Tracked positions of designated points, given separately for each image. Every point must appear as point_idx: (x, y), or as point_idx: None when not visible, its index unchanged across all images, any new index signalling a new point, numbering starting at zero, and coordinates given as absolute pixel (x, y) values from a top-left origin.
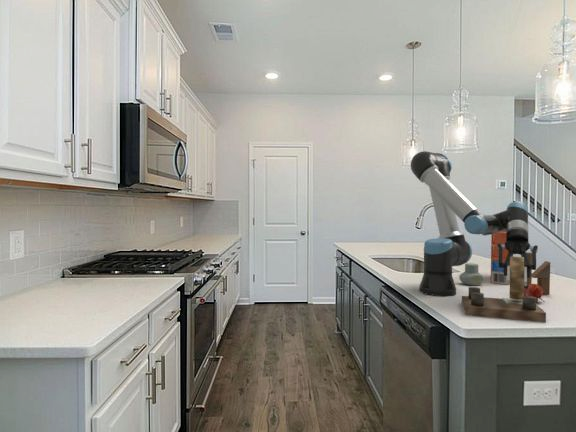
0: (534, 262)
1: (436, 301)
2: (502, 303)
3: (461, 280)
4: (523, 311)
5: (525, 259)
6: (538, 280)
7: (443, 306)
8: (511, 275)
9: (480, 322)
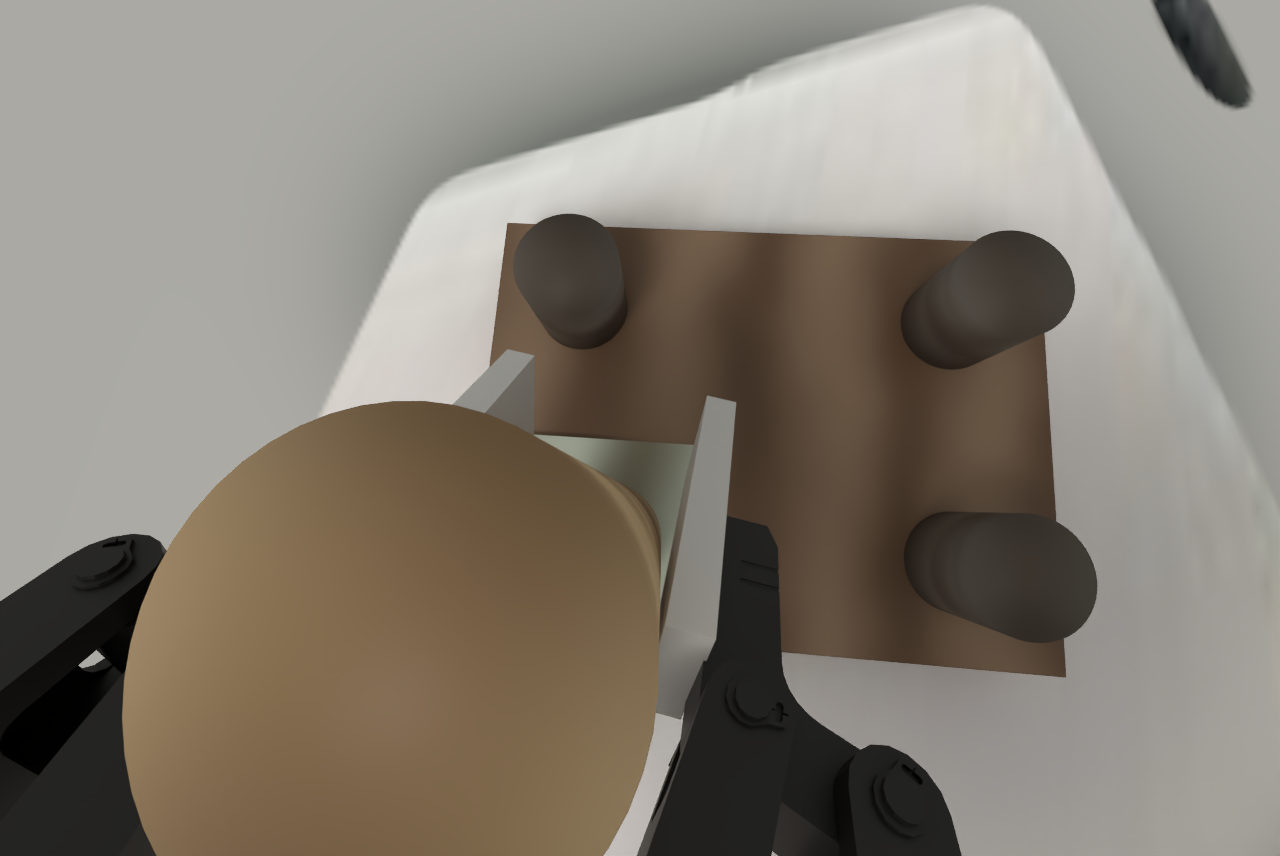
0: (2, 634)
1: (1229, 673)
2: (739, 436)
3: None
4: (644, 229)
5: (97, 826)
6: None
7: (1155, 493)
8: (650, 521)
9: (912, 135)
